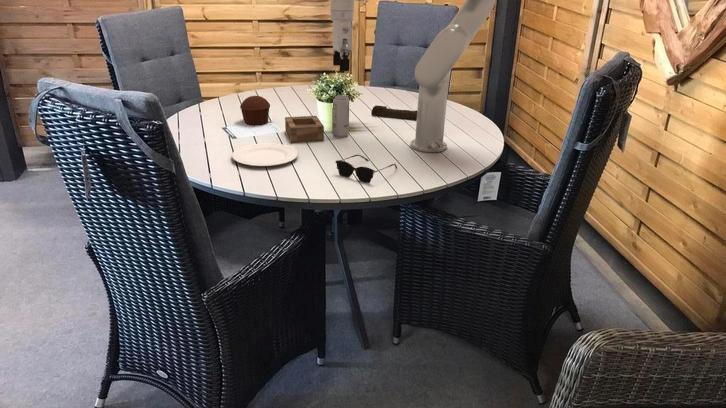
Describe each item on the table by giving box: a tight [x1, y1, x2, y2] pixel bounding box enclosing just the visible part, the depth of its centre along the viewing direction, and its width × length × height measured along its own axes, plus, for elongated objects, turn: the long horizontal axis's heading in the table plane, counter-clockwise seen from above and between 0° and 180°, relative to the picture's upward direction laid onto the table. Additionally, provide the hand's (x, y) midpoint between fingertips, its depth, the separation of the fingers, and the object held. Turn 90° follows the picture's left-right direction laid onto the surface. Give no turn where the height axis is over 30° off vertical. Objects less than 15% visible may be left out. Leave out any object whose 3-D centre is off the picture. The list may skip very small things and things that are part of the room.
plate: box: [231, 142, 299, 168], centre depth 172 cm, size 21×21×2 cm
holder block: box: [284, 115, 325, 144], centre depth 192 cm, size 14×12×6 cm
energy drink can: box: [331, 95, 350, 139], centre depth 192 cm, size 6×6×15 cm
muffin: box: [239, 95, 271, 127], centre depth 205 cm, size 12×11×10 cm
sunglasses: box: [335, 154, 398, 184], centre depth 164 cm, size 14×16×5 cm
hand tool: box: [370, 105, 417, 122], centre depth 218 cm, size 19×4×5 cm, turn 74°
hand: (340, 68), depth 185 cm, fingers open, 9 cm apart
